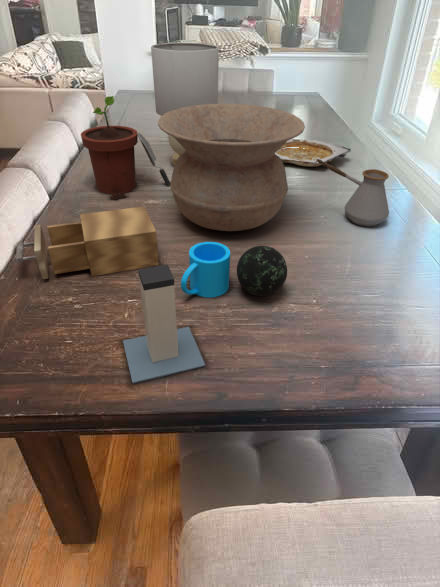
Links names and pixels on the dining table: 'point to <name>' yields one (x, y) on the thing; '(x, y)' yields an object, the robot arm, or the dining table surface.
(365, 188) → the coffee pot
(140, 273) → the black-capped tall post
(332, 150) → the pizza
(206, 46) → the lamp
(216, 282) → the mug
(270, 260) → the decorative stone
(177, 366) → the mat
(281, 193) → the pot
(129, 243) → the cabinet
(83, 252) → the drawer
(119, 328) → the dining table surface
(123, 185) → the potted plant
